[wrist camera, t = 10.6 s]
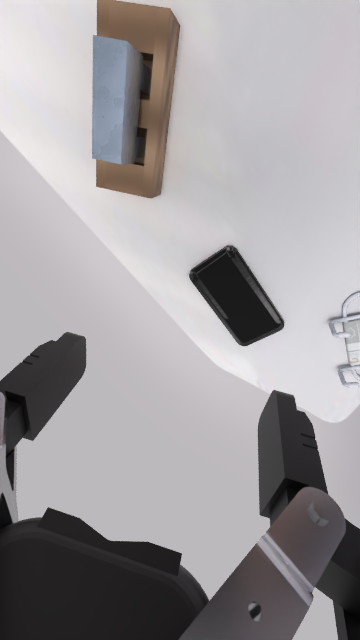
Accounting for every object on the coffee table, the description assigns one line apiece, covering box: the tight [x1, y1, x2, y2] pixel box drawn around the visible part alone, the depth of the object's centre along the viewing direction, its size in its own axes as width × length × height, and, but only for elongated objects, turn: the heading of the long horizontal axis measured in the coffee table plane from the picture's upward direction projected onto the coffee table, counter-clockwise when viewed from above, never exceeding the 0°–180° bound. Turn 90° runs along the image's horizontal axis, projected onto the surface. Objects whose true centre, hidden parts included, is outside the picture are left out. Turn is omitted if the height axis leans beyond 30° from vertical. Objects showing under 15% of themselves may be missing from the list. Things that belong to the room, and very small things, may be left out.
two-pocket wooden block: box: [96, 0, 180, 198], centre depth 32 cm, size 16×7×4 cm, turn 171°
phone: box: [189, 246, 284, 346], centre depth 42 cm, size 8×1×15 cm
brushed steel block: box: [92, 35, 152, 164], centre depth 29 cm, size 9×3×8 cm, turn 170°
